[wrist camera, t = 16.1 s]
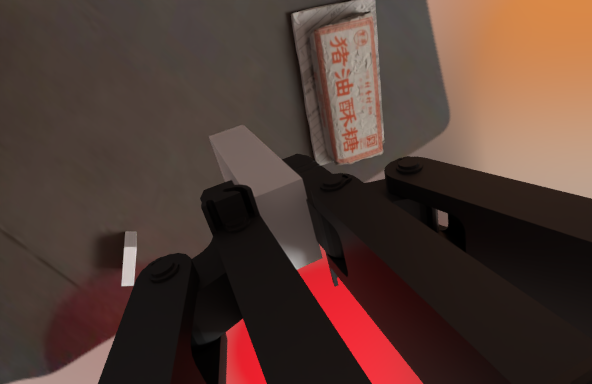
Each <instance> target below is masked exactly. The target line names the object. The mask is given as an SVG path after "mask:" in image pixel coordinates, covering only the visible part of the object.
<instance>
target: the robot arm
mask: <svg viewBox="0 0 592 384" xmlns="http://www.w3.org/2000/svg"><path fill="white" fill-rule="evenodd" d="M209 139H210V142H211V145H212V147H213V150H214V153H215V156H216V158H217V161H218V164H219V166H220V169H221V172H222V175H223V177H224V180H225V182H224V183H222V184H219V185H217V186H214V187H211V188H209V189H206V190H204V191H203V193H202V196H201V198H200V199H201V202H202V205H201V208H202V211H203V213H204V216H205V218H206V220H207V223H208V225H209V228H210V230H211V232H212V235H213V238H212V241H211V243H210V244H209V246H208V247H207V248H206V249H205V250H204V251H203V252H201V253H200V254H199V255H197V256H196V257H194V258H193V259H191V258H190V257H189V256H188V255H186V254H181V253H176V254H170V255H167V256H164V257H160V258H158V259H156V260H155V261H153V262H151V263H150V264H149V265H148V266H147V267H146V268H145V269H143V270H142V271H141V273H140V274H139V276H138V277H137V279H136V282H135V284H134V287H133V290H132V292H131V295H130V298H129V301H128V303H127V306H126V309H125V312H124V314H123V317H122V320H121V322H120V325H119V328H118V331H117V333H116V336H115V339H114V341H113V344H112V347H111V350H110V352H109V355H108V358H107V360H106V363H105V366H104V369H103V371H102V374H101V377H100V380H99V382H98V384H226V367H227V366H226V365H227V336H226V331H228V330H229V329H230V328H231V327H233V326H234V325H235V324H236V323H238V322H239V321H240V320H241V319H243V320H244V322H245V325H246V328H247V331H248V333H249V336H250V339H251V342H252V344H253V347H254V349H255V352H256V355H257V358H258V360H259V363H260V366H261V369H262V372H263V374H264V377H265V380H266V382H267V384H372V383H371V382H370V380H369V379H368V377H367V376H366V374H365V373H364V371H363V370H362V368H361V367H360V365H359V364H358V362H357V360H356V359H355V358H354V356H353V355H352V353H351V351H350V350H349V348H348V347H347V345H346V344H345V342H344V341H343V339H342V338H341V336H340V335H339V333H338V332H337V330H336V329H335V327H334V326H333V324H332V323H331V321H330V320H329V318H328V317H327V315H326V314H325V312H324V311H323V309H322V308H321V306H320V305H319V303H318V302H317V300H316V299H315V297H314V296H313V294H312V293H311V291H310V290H309V288H308V286H307V285H306V283H305V282H304V280H303V279H302V278H301V276H300V274H299V273H298V271H297V269H299V268H301V267H304V266H306V265H308V264H310V263H312V262H315V261H317V260H319V259H321V258H322V254H321V250H320V246H319V244H320V245H321V246H322V248H324V250H325V252H326V256H327V259H328V264H329V268H330V271H331V276H332V280H333V283H334V286H337V285H338V282H337V277H339V278H340V280H341V281H342V282H343V284H344V285H345V286H346V287H347V289H348V290H349V291H350V292H351V294H352V295H353V296H354V297H355V299H356V300H357V301H358V302H359V304H360V305H361V306H362V307H363V309H364V310H365V311H366V312H367V314H368V315H369V316H370V317H371V319H372V320H373V321H374V322H375V324H376V325H377V326H378V327H379V329H380V330H381V331H382V332H383V334H384V335H385V336H386V337H387V339H388V340H389V341H390V342H391V344H392V345H393V346H394V347H395V349H396V350H397V351H398V352H399V353H400V355H401V356H402V357H403V359H404V360H405V361H406V362H407V364H408V365H409V366H410V367H411V369H412V370H413V371H414V372H415V374H416V375H417V376H418V377H419V379H420V380H421V381H422V382H423V384H592V199H591V198H587V197H583V196H579V195H574V194H570V193H566V192H562V191H558V190H554V189H550V188H546V187H542V186H538V185H534V184H530V183H526V182H521V181H517V180H513V179H509V178H505V177H501V176H497V175H493V174H489V173H485V172H481V171H477V170H472V169H468V168H465V167H460V166H456V165H452V164H448V163H444V162H440V161H436V160H432V159H428V158H423V157H409V156H407V157H403V158H399V159H397V160H395V161H393V162H390V163H389V164H388V165H387V166H386V167H385V170H384V172H385V179H382V180H378V181H373V182H368V183H363V182H362V181H360V180H359V179H358V178H356V177H355V176H352V175H350V174H343V173H338V174H332V173H330V172H329V171H328V170H326V169H325V168H324V167H322V166H320V164H318V163H317V162H315V161H314V160H313V159H312V158H310V157H309V156H306V155H301V154H295V155H293V156H290V157H288V158H285V159H282V160H281V159H280V158H279V157H278V156H277V155H276V154H275V153H274V152H273V151H272V150H270V149H269V148H268V147H267V146H266V145H265V144H264V143H263V142H262V141H261V140H259V139H258V138H257V137H256V136H255V135H254V134H253V133H252V132H251V131H250V130H248V129H247V128H246V127H245V126H244V125H240V126H237V127H235V128H232V129H229V130H226V131H223V132H220V133H217V134H214V135H211V136H209ZM438 210H440V211H443V212H446V213H448V227H445V226H442V225H439V224H438Z"/></svg>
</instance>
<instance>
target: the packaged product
mask: <svg viewBox="0 0 592 384" xmlns="http://www.w3.org/2000/svg"><path fill="white" fill-rule="evenodd" d="M291 19H292V27H293V34H294V40H295V46H296V52H297V56H298V60H299V66H300V73H301V80H302V87H303V93H304V102H305V109H306V115H307V119H308V122H309V126H310V135H311V143H312V148H313V153H314V157H315V162H317V163H318V164H320V165H324V164H327V163H330V162H333V161H334V163H335V164H336V165H342V164H352V163H354V162H357V161H359V160H361V159H366V158H372V157H373V156H376V155H381V154H383V147H382V145H383V144H384V142H385V140H384V131H383V115H382V100H381V83H380V69H379V55H378V36H377V22H376V10H375V0H351V1H348V2H343V3H336V4H329V5H324V6H319V7H314V8H309V9H306V10H303V11H300V12H296V13H293V14H291Z"/></svg>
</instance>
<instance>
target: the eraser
mask: <svg viewBox="0 0 592 384" xmlns="http://www.w3.org/2000/svg"><path fill="white" fill-rule="evenodd" d="M136 249H137V232H130V231H125V242H124V257H123V272H122V286H134V275H135V262H136Z"/></svg>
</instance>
